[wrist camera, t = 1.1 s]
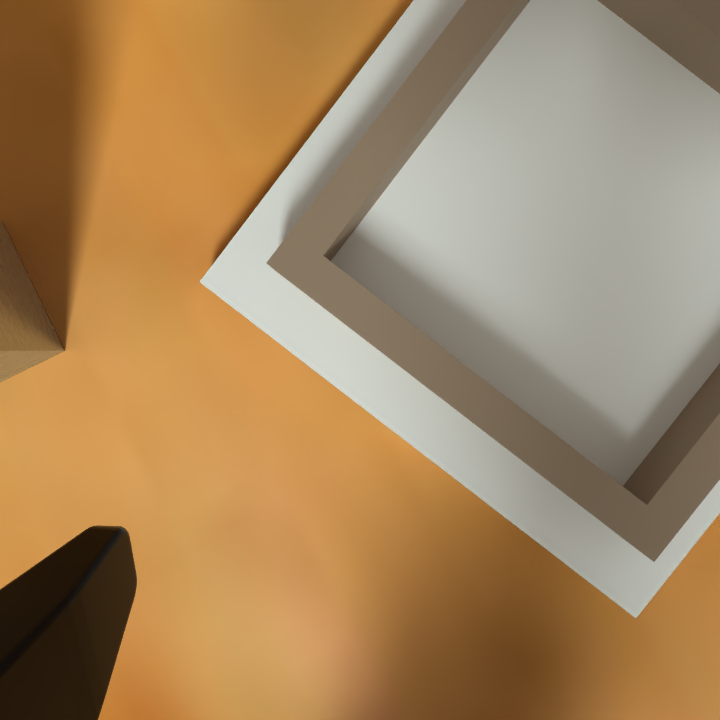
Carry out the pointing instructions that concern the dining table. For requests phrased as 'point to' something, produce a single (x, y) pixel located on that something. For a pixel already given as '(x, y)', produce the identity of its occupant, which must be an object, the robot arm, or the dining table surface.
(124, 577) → the robot arm
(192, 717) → the dining table surface
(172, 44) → the dining table surface
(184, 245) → the dining table surface
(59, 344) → the brushed metal pillar
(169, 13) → the dining table surface
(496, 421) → the stand
